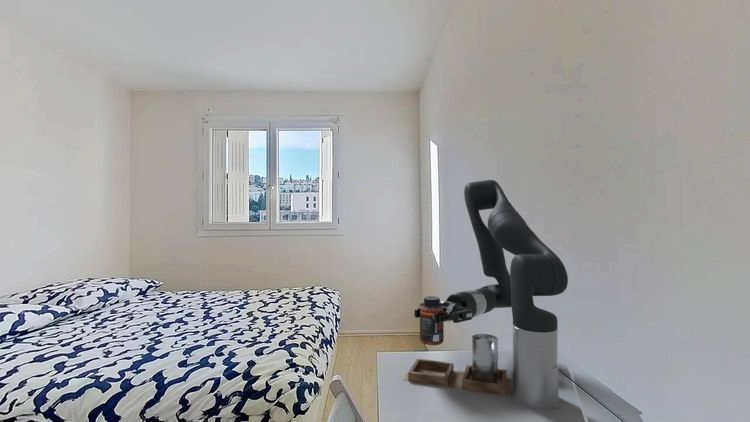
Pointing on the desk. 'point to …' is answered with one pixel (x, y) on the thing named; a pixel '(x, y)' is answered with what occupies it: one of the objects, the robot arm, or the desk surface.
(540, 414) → the desk surface
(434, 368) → the wooden double tray
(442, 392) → the desk surface
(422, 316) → the supplement bottle
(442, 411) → the desk surface
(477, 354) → the seated can
